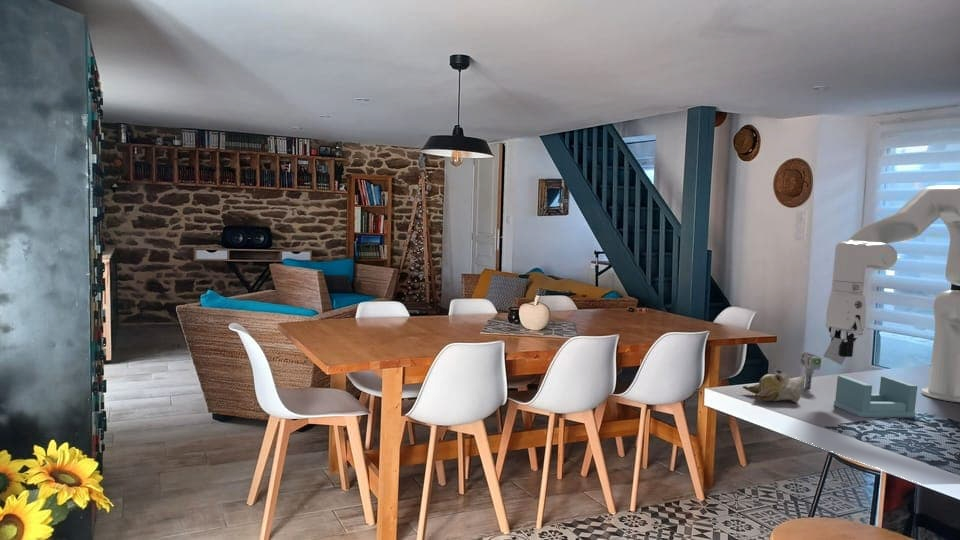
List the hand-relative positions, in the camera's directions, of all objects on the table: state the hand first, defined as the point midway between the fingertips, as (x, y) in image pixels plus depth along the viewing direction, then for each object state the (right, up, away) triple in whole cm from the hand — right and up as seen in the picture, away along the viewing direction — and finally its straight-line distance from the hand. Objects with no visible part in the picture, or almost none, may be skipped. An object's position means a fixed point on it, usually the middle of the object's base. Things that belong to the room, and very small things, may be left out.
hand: (841, 354), depth 183 cm
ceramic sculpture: (-17, -13, +2) cm, 22 cm away
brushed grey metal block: (-2, -2, 0) cm, 3 cm away
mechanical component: (0, -12, +18) cm, 22 cm away
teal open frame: (+6, -15, -4) cm, 16 cm away
